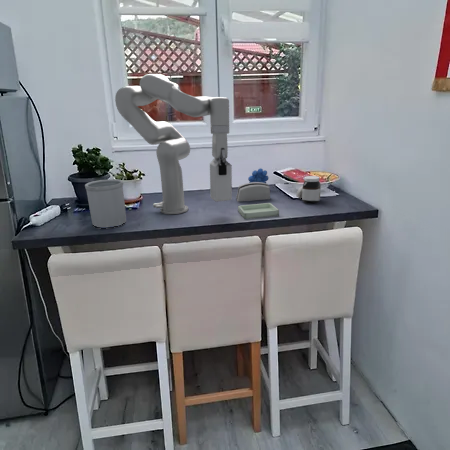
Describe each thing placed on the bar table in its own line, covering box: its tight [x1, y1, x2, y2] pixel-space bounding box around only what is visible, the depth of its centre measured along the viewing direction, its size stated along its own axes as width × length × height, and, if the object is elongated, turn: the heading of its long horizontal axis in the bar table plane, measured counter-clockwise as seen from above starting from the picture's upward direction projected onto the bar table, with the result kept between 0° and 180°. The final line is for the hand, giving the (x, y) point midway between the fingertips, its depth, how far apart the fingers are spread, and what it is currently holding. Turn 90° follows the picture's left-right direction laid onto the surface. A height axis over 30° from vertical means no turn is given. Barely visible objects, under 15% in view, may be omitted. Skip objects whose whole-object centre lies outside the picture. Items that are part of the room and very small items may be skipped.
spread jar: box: [296, 175, 322, 205], centre depth 184 cm, size 12×11×12 cm
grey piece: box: [235, 182, 271, 203], centre depth 190 cm, size 17×5×10 cm, turn 99°
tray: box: [237, 202, 280, 220], centre depth 170 cm, size 15×12×2 cm
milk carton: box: [209, 157, 233, 203], centre depth 163 cm, size 7×7×19 cm
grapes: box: [248, 167, 270, 184], centre depth 206 cm, size 12×7×12 cm, turn 108°
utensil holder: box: [84, 178, 127, 227], centre depth 162 cm, size 15×15×18 cm
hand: (220, 172), depth 162 cm, fingers closed on milk carton, 7 cm apart
